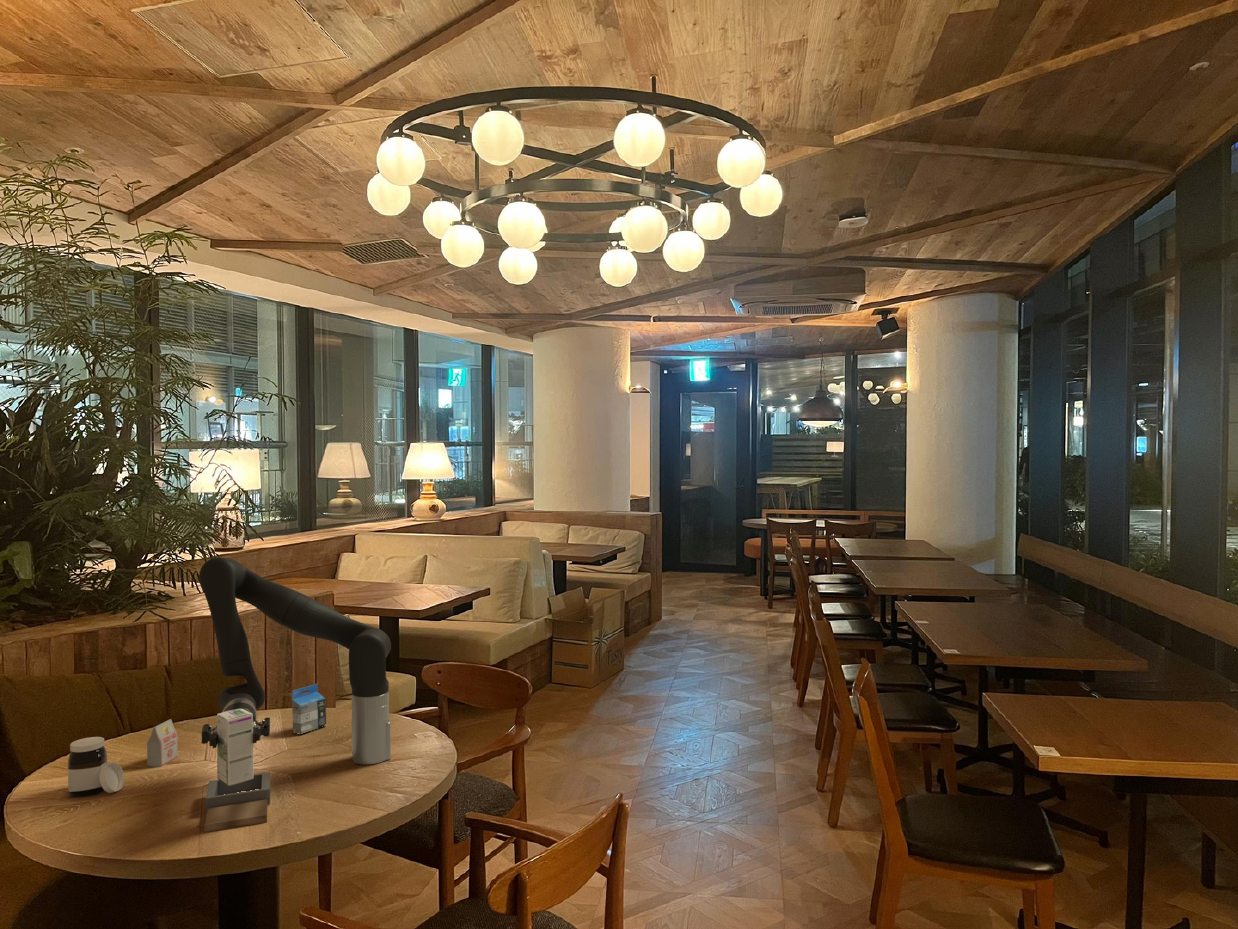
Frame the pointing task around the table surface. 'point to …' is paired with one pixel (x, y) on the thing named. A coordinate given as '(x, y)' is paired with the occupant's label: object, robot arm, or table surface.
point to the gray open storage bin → (231, 796)
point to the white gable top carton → (162, 745)
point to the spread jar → (92, 768)
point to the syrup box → (235, 746)
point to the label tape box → (308, 709)
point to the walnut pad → (236, 815)
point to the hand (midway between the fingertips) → (234, 741)
